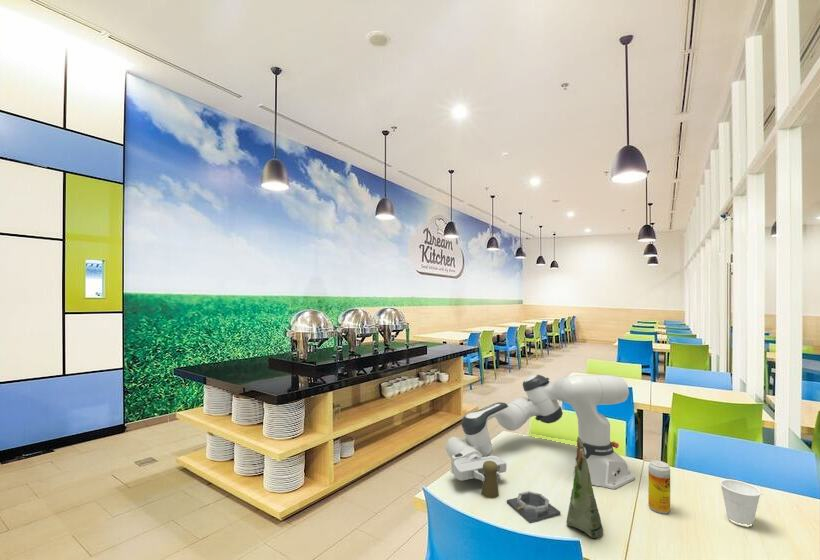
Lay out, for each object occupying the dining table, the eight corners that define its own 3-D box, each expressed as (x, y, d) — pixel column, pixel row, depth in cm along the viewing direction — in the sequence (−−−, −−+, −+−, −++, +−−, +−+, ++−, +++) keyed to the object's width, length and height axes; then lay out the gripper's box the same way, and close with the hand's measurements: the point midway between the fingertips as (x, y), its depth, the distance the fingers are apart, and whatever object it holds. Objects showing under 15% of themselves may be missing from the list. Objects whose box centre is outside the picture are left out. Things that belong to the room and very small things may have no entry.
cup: (764, 536, 116) (764, 498, 116) (722, 525, 121) (722, 489, 121) (757, 519, 124) (757, 484, 125) (717, 509, 130) (717, 476, 130)
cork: (499, 499, 135) (499, 467, 135) (481, 497, 136) (481, 465, 136) (498, 490, 141) (498, 459, 141) (481, 488, 142) (481, 457, 142)
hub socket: (535, 496, 137) (535, 487, 137) (560, 515, 126) (560, 505, 126) (506, 502, 133) (506, 494, 133) (529, 523, 121) (529, 513, 121)
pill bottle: (663, 516, 125) (663, 469, 126) (644, 506, 131) (644, 461, 131) (674, 511, 128) (674, 465, 128) (655, 502, 134) (655, 458, 134)
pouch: (585, 543, 112) (585, 455, 112) (554, 520, 123) (554, 440, 123) (612, 534, 117) (613, 449, 117) (580, 512, 127) (581, 435, 128)
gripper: (494, 464, 154) (516, 481, 141) (447, 473, 147) (466, 492, 134) (494, 448, 154) (516, 463, 141) (447, 456, 147) (466, 473, 134)
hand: (491, 477), depth 138 cm, fingers closed on cork, 4 cm apart
